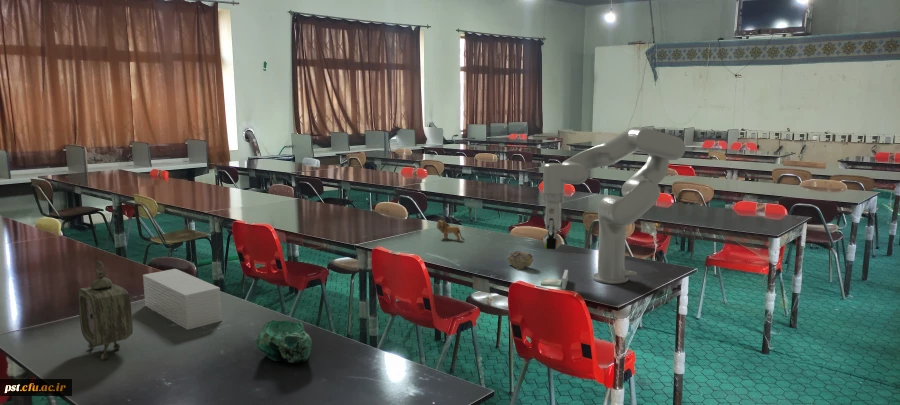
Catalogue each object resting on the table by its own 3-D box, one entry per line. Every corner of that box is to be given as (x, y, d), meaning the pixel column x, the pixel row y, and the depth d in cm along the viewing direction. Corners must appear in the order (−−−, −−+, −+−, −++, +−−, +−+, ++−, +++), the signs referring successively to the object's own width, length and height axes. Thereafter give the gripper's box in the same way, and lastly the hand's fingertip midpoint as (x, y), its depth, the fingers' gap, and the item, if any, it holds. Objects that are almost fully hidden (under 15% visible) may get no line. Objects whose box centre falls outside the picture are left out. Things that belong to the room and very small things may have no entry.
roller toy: (541, 247, 236) (541, 231, 235) (558, 246, 237) (558, 231, 237) (545, 250, 232) (545, 234, 231) (562, 249, 233) (562, 233, 232)
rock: (532, 257, 251) (535, 247, 260) (503, 255, 254) (507, 246, 263) (532, 274, 253) (535, 264, 262) (503, 272, 256) (508, 262, 265)
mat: (561, 281, 239) (561, 279, 239) (560, 286, 232) (560, 284, 232) (542, 279, 241) (542, 278, 241) (540, 285, 234) (540, 283, 234)
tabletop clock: (82, 348, 175) (73, 259, 171) (118, 339, 182) (110, 253, 178) (99, 363, 165) (90, 269, 161) (136, 354, 172) (128, 262, 168)
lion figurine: (434, 239, 311) (434, 220, 310) (439, 237, 316) (439, 219, 314) (462, 241, 305) (462, 223, 304) (467, 239, 310) (467, 221, 308)
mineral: (333, 359, 168) (332, 322, 166) (281, 379, 156) (279, 339, 155) (291, 342, 180) (290, 307, 178) (240, 358, 168) (238, 322, 167)
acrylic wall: (567, 280, 240) (568, 270, 239) (565, 289, 228) (565, 278, 228) (564, 280, 240) (564, 269, 240) (561, 289, 229) (562, 278, 228)
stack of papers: (145, 306, 212) (142, 274, 210) (177, 299, 219) (175, 268, 218) (187, 330, 190) (185, 295, 188) (222, 321, 197) (219, 287, 196)
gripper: (561, 201, 222) (560, 252, 225) (565, 194, 239) (564, 242, 242) (540, 200, 224) (538, 251, 227) (545, 194, 241) (544, 241, 244)
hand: (552, 246), depth 234 cm, fingers closed on roller toy, 5 cm apart
